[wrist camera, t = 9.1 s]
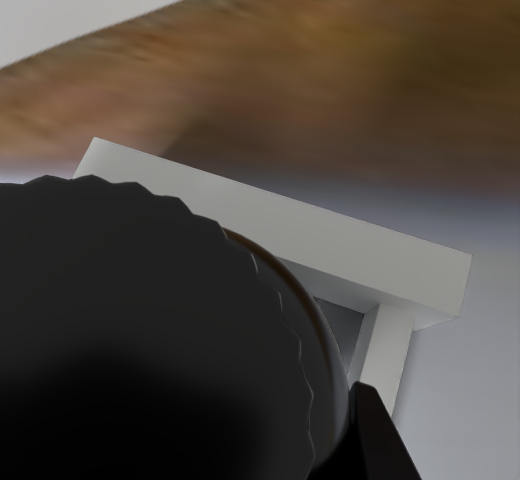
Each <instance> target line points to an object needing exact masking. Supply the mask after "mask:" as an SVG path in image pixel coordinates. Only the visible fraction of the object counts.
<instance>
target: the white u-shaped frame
mask: <svg viewBox="0 0 520 480" xmlns="http://www.w3.org/2000/svg"><path fill="white" fill-rule="evenodd" d="M91 174H93V175H95V176H98V177H100V178H103V179H105V180H107V181H109V182H111V183H122V182H138V183H139V184H141V185H142V186H144V187H145V188H147V189H148V190H149V191H150V192H152V193H153V194H154V195H161V196H164V195H168V196H174V197H179V198H180V199H181V200H182V201H183V202H184V203H185V204H186V205H187V206H188V208H189V209H190V210H191V212H192V213H193V214H196V215H200V216H204V217H207V218H210V219H212V220H215V221H217V222H218V223H219V224H220V226H222V227H225V228H227V229H230V230H232V231H234V232H237V233H239V234H241V235H243V236H245V237H247V238H248V239H250V240H252V241H254V242H256V243H257V244H259V245H260V246H262V247H263V248H265V249H266V250H268V251H269V252H271V253H272V254H273V255H274V256H276V257H277V258H278V259H279V260H280V261H281V262H283V263H284V264H285V265H286V266H287V267H288V268H289V269H290V270H291V271H292V272H293V273H294V274H295V275H296V276H297V277H298V278H299V279H300V280H301V282H302V283H303V284H304V285H305V287H306V288H307V289H308V290H309V292H310V293H311V294H312V296H314V297H317V298H320V299H322V300H325V301H328V302H331V303H334V304H337V305H340V306H343V307H346V308H349V309H352V310H355V311H358V312H361V313H364V318H363V322H362V325H361V329H360V332H359V336H358V340H357V343H356V347H355V351H354V354H353V358H352V361H351V365H350V369H349V372H348V376H347V380H348V386H349V391H350V389H351V386H352V384H353V383H354V382H355V381H360V382H363V383H366V384H368V385H371V386H373V387H375V388H376V389H377V391H378V393H379V395H380V397H381V399H382V401H383V403H384V405H385V407H386V409H387V411H388V413H389V415H390V417H392V413H393V409H394V405H395V401H396V396H397V392H398V388H399V384H400V380H401V376H402V371H403V367H404V363H405V359H406V355H407V351H408V346H409V342H410V338H411V334H412V330H414V331H417V330H420V329H424V328H427V327H430V326H433V325H436V324H439V323H442V322H445V321H448V320H451V319H454V318H458V317H460V313H461V308H462V303H463V298H464V294H465V289H466V284H467V279H468V274H469V270H470V265H471V260H472V255H471V254H468V253H465V252H462V251H458V250H455V249H452V248H449V247H446V246H442V245H439V244H436V243H433V242H430V241H426V240H423V239H420V238H417V237H413V236H410V235H407V234H404V233H401V232H397V231H394V230H391V229H388V228H385V227H381V226H378V225H375V224H372V223H369V222H365V221H362V220H359V219H356V218H353V217H349V216H346V215H343V214H340V213H337V212H333V211H330V210H327V209H324V208H321V207H317V206H314V205H311V204H308V203H305V202H301V201H298V200H295V199H292V198H288V197H285V196H282V195H279V194H276V193H272V192H269V191H266V190H263V189H260V188H256V187H253V186H250V185H247V184H244V183H240V182H237V181H234V180H231V179H228V178H224V177H221V176H218V175H215V174H212V173H208V172H205V171H202V170H199V169H196V168H192V167H189V166H186V165H183V164H180V163H176V162H173V161H170V160H167V159H163V158H160V157H157V156H154V155H151V154H147V153H144V152H141V151H138V150H135V149H131V148H128V147H125V146H122V145H119V144H115V143H112V142H109V141H106V140H103V139H99V138H96V137H94V139H93V140H92V142H91V144H90V146H89V148H88V150H87V152H86V154H85V155H84V157H83V159H82V161H81V163H80V165H79V167H78V168H77V170H76V172H75V174H74V176H73V178H72V179H75V178H78V177H80V176H86V175H91Z"/></svg>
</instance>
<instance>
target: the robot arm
mask: <svg viewBox="0 0 520 480" xmlns="http://www.w3.org/2000/svg"><path fill="white" fill-rule="evenodd" d="M349 394H350V402H351V443H350V453H349V460H348V466H347V473H346V477H345V480H422V479H421V477H420V475H419V473H418V471H417V469H416V467H415V465H414V463H413V461H412V459H411V457H410V455H409V453H408V451H407V449H406V447H405V445H404V443H403V441H402V439H401V437H400V435H399V433H398V431H397V429H396V427H395V425H394V423H393V421H392V419H391V417H390V415H389V413H388V411H387V409H386V407H385V405H384V403H383V401H382V399H381V397H380V395H379V393H378V391H377V389H376V388H375V387H373V386H371V385H368V384H366V383H363V382H360V381H355V382H354V383H353V384H352V386H351V389H350V391H349Z"/></svg>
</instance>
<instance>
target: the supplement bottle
mask: <svg viewBox="0 0 520 480" xmlns="http://www.w3.org/2000/svg"><path fill="white" fill-rule="evenodd" d="M350 443H351V402H350V394H349V386H348V380H347V376H346V371H345V366H344V362H343V359H342V356H341V353H340V349H339V346H338V343H337V341H336V339H335V336H334V334H333V331H332V329H331V327H330V325H329V323H328V321H327V319H326V317H325V315H324V313H323V311H322V310H321V308H320V306H319V305H318V303H317V302H316V300H315V299H314V297H313V296H312V294H311V293H310V292H309V290H308V289H307V288H306V287H305V285H304V284H303V283H302V282H301V280H300V279H299V278H298V277H297V276H296V275H295V274H294V273H293V272H292V271H291V270H290V269H289V268H288V267H287V266H286V265H285V264H284V263H283V262H281V261H280V260H279V259H278V258H277V257H276V256H274V255H273V254H272V253H271V252H269V251H268V250H266V249H265V248H263V247H262V246H260V245H259V244H257V243H256V242H254V241H252V240H250V239H248V238H247V237H245V236H243V235H241V234H239V233H237V232H234V231H232V230H230V229H227V228H225V227H222V226H220V224H219V223H218V222H217V221H215V220H212V219H210V218H207V217H204V216H200V215H196V214H193V213H192V212H191V210H190V209H189V208H188V206H187V205H186V204H185V203H184V202H183V201H182V200H181V199H180V198H179V197H174V196H168V195H164V196H161V195H154V194H153V193H152V192H150V191H149V190H148V189H147V188H145V187H144V186H142V185H141V184H139V183H138V182H122V183H111V182H109V181H107V180H105V179H103V178H100V177H98V176H95V175H93V174H91V175H86V176H80V177H78V178H75V179H70V180H67V179H63V178H60V177H56V176H50V175H45V176H42V177H39V178H36V179H34V180H31V181H29V182H27V183H25V184H14V183H0V480H345V477H346V473H347V466H348V460H349V453H350Z"/></svg>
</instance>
